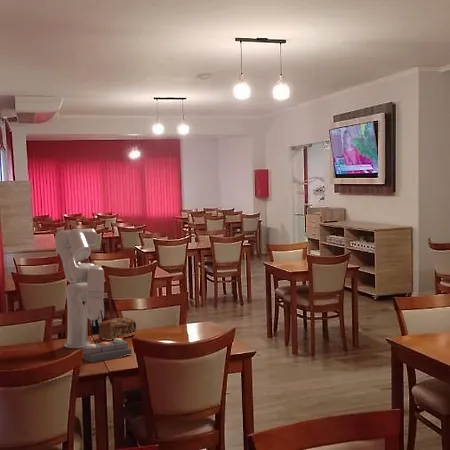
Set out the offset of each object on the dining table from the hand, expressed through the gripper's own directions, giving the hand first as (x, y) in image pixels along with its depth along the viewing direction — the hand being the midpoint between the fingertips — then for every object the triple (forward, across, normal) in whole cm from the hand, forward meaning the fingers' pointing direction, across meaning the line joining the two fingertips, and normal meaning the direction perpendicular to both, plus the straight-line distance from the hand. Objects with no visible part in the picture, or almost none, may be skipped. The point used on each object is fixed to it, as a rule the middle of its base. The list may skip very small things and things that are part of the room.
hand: (95, 334), depth 276 cm
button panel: (+11, 0, +5) cm, 12 cm away
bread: (+12, -32, +28) cm, 44 cm away
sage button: (+7, 0, +12) cm, 14 cm away
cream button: (+7, 0, -2) cm, 8 cm away
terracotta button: (+7, 0, +5) cm, 9 cm away
